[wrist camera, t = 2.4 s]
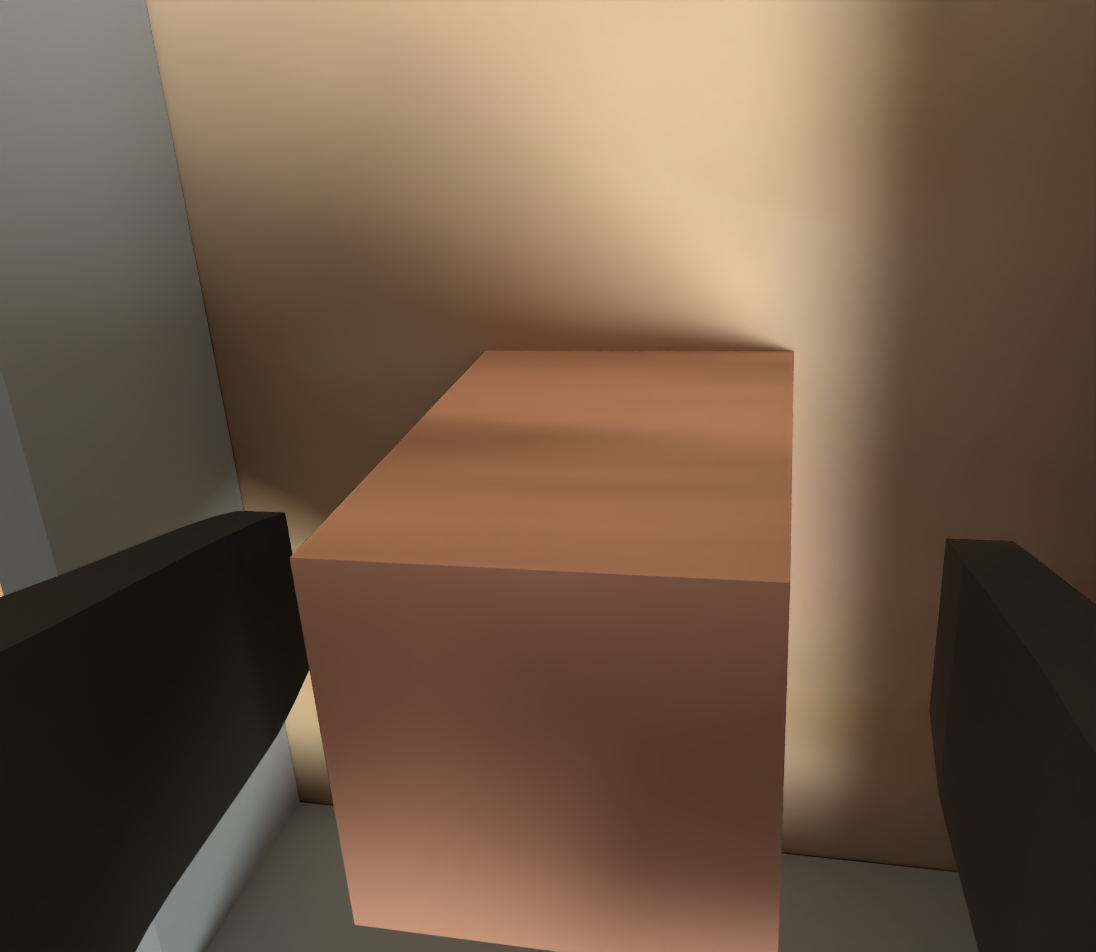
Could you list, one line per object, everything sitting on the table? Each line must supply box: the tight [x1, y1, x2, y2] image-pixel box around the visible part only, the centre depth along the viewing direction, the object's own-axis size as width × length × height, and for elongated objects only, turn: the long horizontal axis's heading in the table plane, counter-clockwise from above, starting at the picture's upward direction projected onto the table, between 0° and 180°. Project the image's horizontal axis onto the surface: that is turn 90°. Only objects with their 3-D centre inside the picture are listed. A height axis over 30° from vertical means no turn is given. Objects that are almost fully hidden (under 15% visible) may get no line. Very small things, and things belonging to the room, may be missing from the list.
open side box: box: [0, 0, 979, 952], centre depth 12 cm, size 14×14×4 cm
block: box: [290, 350, 794, 952], centre depth 12 cm, size 4×4×6 cm
